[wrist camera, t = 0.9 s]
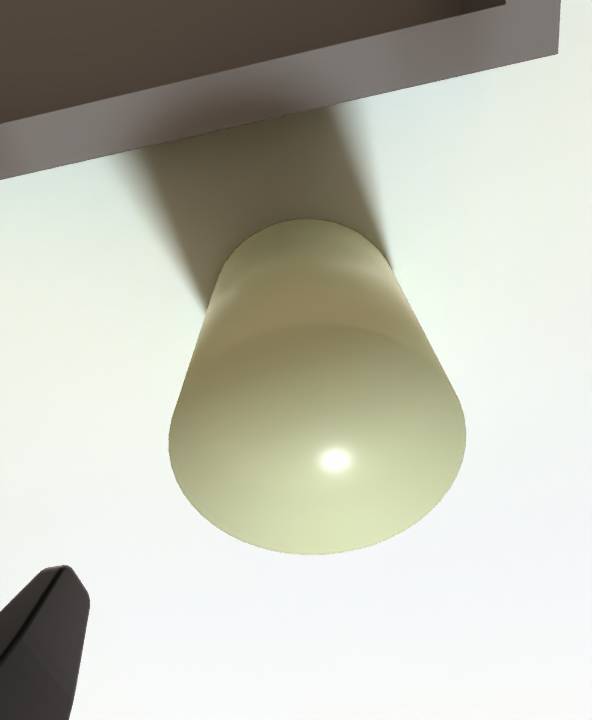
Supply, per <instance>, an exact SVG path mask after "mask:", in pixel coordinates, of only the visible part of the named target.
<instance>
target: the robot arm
mask: <svg viewBox="0 0 592 720" xmlns="http://www.w3.org/2000/svg"><path fill="white" fill-rule="evenodd" d="M89 609H90V599H89V595H88V592H87V590H86V589H85V587H84V586H83V584H82V583H81V581H80V580H79V578H78V577H77V575H76V574H75V572H74V570H73V569H72V568H71V567H70V566H68V565H61V566H55V567H49V568H45V569H43V570H42V571H41V572H40V573H38V574H37V575H36V576H35V577H34V578H33V579H32V580H31V581H30V582H29V583H28V584H27V585H26V586H25V587H24V588H23V589H22V590H21V591H20V592H19V593H18V594H17V595H16V596H15V597H14V598H13V599H12V600H11V601H10V602H9V603H8V604H7V605H6V606H5V607H4V608H3V609H2V610H1V611H0V720H69V717H70V713H71V709H72V705H73V700H74V695H75V690H76V685H77V679H78V674H79V668H80V662H81V656H82V650H83V644H84V638H85V633H86V627H87V621H88V615H89Z"/></svg>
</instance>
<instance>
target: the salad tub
mask: <svg viewBox="0 0 592 720" xmlns="http://www.w3.org/2000/svg"><path fill="white" fill-rule="evenodd" d="M465 445H466V427H465V419H464V414H463V411H462V408H461V404H460V401H459V399H458V397H457V395H456V393H455V391H454V389H453V387H452V385H451V383H450V381H449V379H448V378H447V376H446V374H445V372H444V370H443V368H442V366H441V364H440V362H439V360H438V358H437V356H436V354H435V353H434V351H433V349H432V347H431V345H430V343H429V341H428V339H427V337H426V335H425V333H424V331H423V329H422V327H421V326H420V324H419V322H418V320H417V318H416V316H415V314H414V312H413V310H412V308H411V306H410V304H409V302H408V300H407V299H406V297H405V295H404V293H403V291H402V289H401V287H400V285H399V283H398V281H397V279H396V277H395V275H394V274H393V272H392V270H391V268H390V266H389V264H388V262H387V260H386V259H385V258H384V256H383V255H382V253H381V252H380V251H379V250H378V249H377V248H376V247H375V246H374V245H373V244H372V243H371V242H370V241H369V240H367V239H366V238H365V237H364V236H362V235H361V234H359V233H357V232H356V231H354V230H352V229H350V228H348V227H345V226H343V225H341V224H338V223H334V222H330V221H326V220H318V219H297V220H289V221H284V222H281V223H277V224H274V225H271V226H269V227H267V228H264V229H262V230H260V231H259V232H257V233H255V234H254V235H252V236H250V237H249V238H248V239H247V240H245V241H244V242H243V243H241V244H240V245H239V246H238V247H237V249H236V250H235V251H234V252H233V253H232V254H231V255H230V257H229V258H228V260H227V261H226V262H225V264H224V266H223V268H222V270H221V272H220V273H219V276H218V279H217V282H216V285H215V288H214V291H213V294H212V297H211V300H210V303H209V306H208V309H207V312H206V315H205V318H204V322H203V325H202V328H201V331H200V334H199V337H198V340H197V343H196V346H195V349H194V352H193V355H192V358H191V361H190V364H189V368H188V371H187V374H186V377H185V380H184V383H183V386H182V389H181V392H180V395H179V398H178V401H177V404H176V407H175V410H174V414H173V417H172V420H171V425H170V431H169V455H170V461H171V466H172V469H173V472H174V475H175V478H176V481H177V482H178V484H179V486H180V488H181V490H182V492H183V494H184V495H185V496H186V498H187V499H188V500H189V502H190V503H191V504H192V506H193V507H194V508H195V509H196V510H197V511H198V512H199V513H200V514H201V515H202V516H203V517H204V518H206V519H207V520H208V521H209V522H210V523H212V524H213V525H214V526H216V527H217V528H219V529H220V530H222V531H224V532H225V533H227V534H228V535H231V536H233V537H235V538H237V539H239V540H241V541H243V542H246V543H248V544H251V545H254V546H257V547H260V548H264V549H268V550H272V551H276V552H282V553H289V554H301V555H325V554H335V553H343V552H348V551H353V550H358V549H361V548H364V547H368V546H371V545H374V544H377V543H379V542H382V541H384V540H387V539H389V538H391V537H393V536H395V535H397V534H399V533H401V532H403V531H405V530H406V529H408V528H409V527H411V526H412V525H414V524H415V523H417V522H418V521H419V520H421V519H422V518H423V517H424V516H426V515H427V514H428V513H429V512H430V511H431V510H432V509H433V508H434V507H435V506H436V505H437V504H438V503H439V502H440V501H441V499H442V498H443V497H444V495H445V494H446V493H447V492H448V490H449V489H450V487H451V485H452V483H453V482H454V480H455V478H456V476H457V474H458V471H459V469H460V466H461V464H462V461H463V456H464V451H465Z"/></svg>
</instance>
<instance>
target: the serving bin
mask: <svg viewBox="0 0 592 720" xmlns="http://www.w3.org/2000/svg"><path fill="white" fill-rule="evenodd" d="M560 3H561V0H0V180H2V179H6V178H11V177H15V176H20V175H24V174H28V173H33V172H37V171H42V170H46V169H51V168H55V167H59V166H64V165H68V164H73V163H77V162H82V161H86V160H90V159H95V158H99V157H104V156H108V155H113V154H117V153H121V152H126V151H130V150H135V149H139V148H144V147H148V146H152V145H157V144H161V143H166V142H170V141H174V140H179V139H183V138H188V137H192V136H197V135H201V134H205V133H210V132H214V131H219V130H223V129H228V128H232V127H236V126H241V125H245V124H250V123H254V122H259V121H263V120H267V119H272V118H276V117H281V116H285V115H290V114H294V113H298V112H303V111H307V110H312V109H316V108H320V107H325V106H329V105H334V104H338V103H343V102H347V101H351V100H356V99H360V98H365V97H369V96H374V95H378V94H382V93H387V92H391V91H396V90H400V89H405V88H409V87H413V86H418V85H422V84H427V83H431V82H436V81H440V80H444V79H449V78H453V77H458V76H462V75H466V74H471V73H475V72H480V71H484V70H489V69H493V68H497V67H502V66H506V65H511V64H515V63H520V62H524V61H528V60H533V59H537V58H542V57H546V56H551V55H555V54H558V42H559V23H560Z"/></svg>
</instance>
